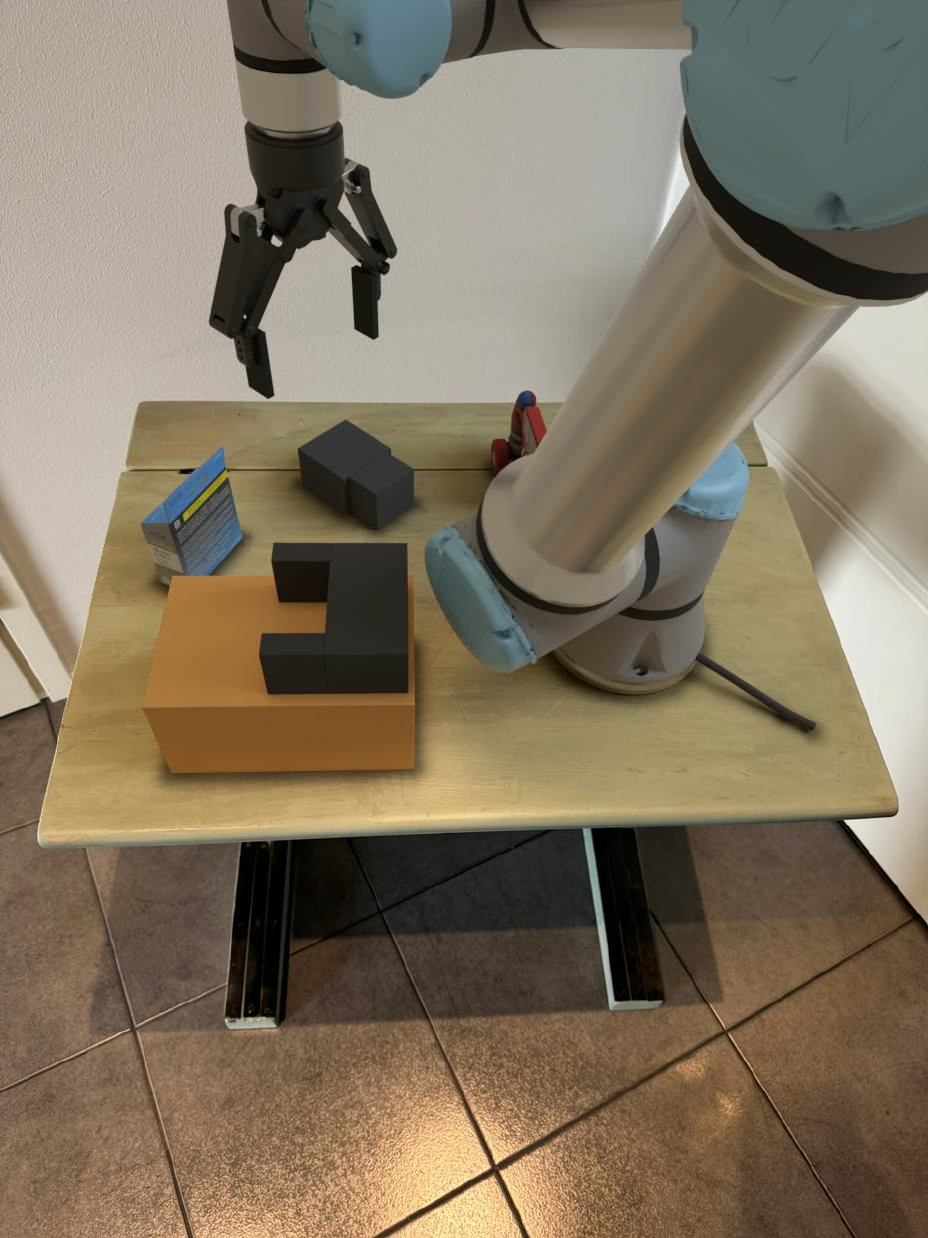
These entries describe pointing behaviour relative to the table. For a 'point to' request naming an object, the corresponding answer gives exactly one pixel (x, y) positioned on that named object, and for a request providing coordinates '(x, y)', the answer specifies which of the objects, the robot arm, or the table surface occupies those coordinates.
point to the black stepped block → (357, 474)
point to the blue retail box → (194, 523)
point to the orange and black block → (289, 665)
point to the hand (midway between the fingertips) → (316, 361)
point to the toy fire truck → (519, 433)
